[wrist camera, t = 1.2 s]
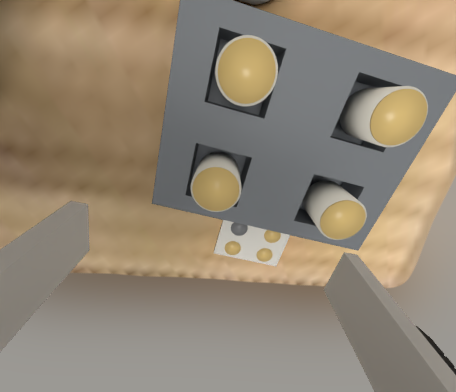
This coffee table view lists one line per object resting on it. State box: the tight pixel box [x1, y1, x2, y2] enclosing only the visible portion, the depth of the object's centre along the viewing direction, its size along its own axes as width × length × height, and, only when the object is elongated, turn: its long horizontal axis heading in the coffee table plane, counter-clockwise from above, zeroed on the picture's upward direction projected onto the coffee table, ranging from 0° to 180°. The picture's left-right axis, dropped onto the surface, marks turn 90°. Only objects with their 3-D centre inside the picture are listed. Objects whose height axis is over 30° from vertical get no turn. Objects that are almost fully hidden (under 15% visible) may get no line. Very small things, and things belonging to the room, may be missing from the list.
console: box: [152, 0, 456, 250], centre depth 25 cm, size 26×20×5 cm
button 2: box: [215, 35, 278, 106], centre depth 19 cm, size 5×5×5 cm
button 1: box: [191, 152, 242, 212], centre depth 23 cm, size 5×5×5 cm
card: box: [214, 220, 290, 266], centre depth 33 cm, size 10×7×1 cm
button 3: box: [303, 180, 367, 240], centre depth 25 cm, size 5×5×5 cm
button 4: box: [340, 86, 428, 147], centre depth 21 cm, size 5×5×5 cm
